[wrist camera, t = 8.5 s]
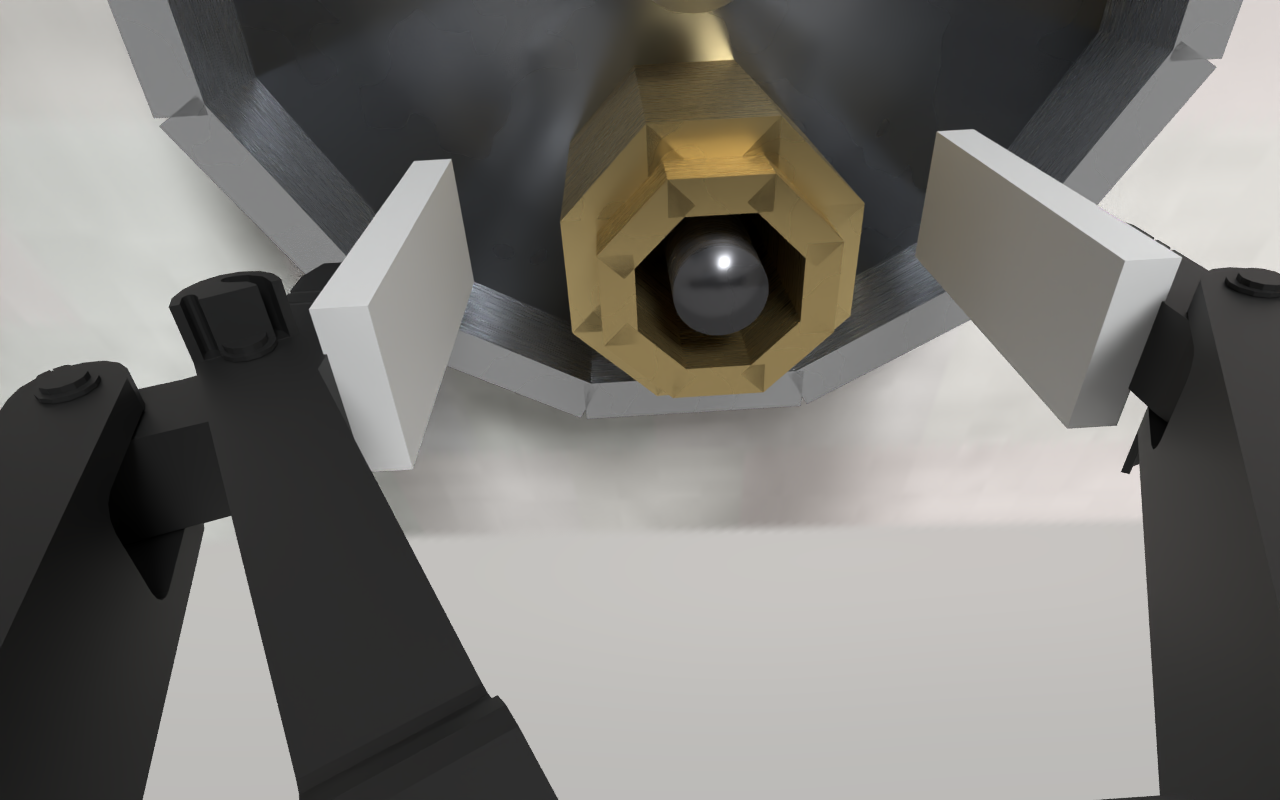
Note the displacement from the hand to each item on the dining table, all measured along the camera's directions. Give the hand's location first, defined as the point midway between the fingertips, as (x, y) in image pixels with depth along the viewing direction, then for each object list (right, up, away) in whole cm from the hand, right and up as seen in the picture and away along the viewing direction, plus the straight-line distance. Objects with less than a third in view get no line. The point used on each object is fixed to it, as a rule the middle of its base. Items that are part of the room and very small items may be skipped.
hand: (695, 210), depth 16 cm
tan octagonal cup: (0, +1, +2) cm, 2 cm away
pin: (0, +2, +3) cm, 3 cm away
